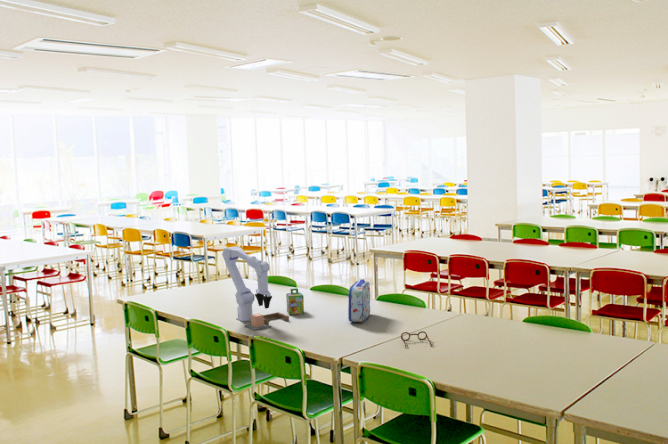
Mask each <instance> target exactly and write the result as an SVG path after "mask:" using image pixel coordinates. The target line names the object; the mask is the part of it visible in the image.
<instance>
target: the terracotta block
mask: <svg viewBox="0 0 668 444" xmlns="http://www.w3.org/2000/svg"><path fill="white" fill-rule="evenodd" d="M263 315H264V314H262V313H254V314H252V315H251V320H250V321H251V324H252V326H254V327H260V326H264V316H263Z"/></svg>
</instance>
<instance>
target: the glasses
mask: <svg viewBox="0 0 668 444" xmlns="http://www.w3.org/2000/svg"><path fill="white" fill-rule="evenodd" d="M422 333H423V334H425V337H423V338H420V334H422ZM404 334H406V335H407V334H408V338H407V339H404V337H403V335H404ZM411 336H417V339H418V340H419V341H425V340H426V339H427V342H429V345H430V348H431V347H432V348H433V346H432V342H431V340H430V338H429V336H428V334H427V332H426V331H419V332H417V333H410V332H408V331H405V332H402V333H401V334H400V339H401V340H402V342H403V343H404V347H405V349H407V345H406V341H409V340H410V339H411Z"/></svg>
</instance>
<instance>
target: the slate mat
mask: <svg viewBox="0 0 668 444" xmlns="http://www.w3.org/2000/svg"><path fill="white" fill-rule="evenodd" d="M244 327H246V328H248V329H250V330H253V331H259V330H264V329H268V328H271V327H272V325H270V324H269V325H266V324H264V326H260V327H254V326H252V323H249V324H245V325H244Z"/></svg>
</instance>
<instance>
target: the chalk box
mask: <svg viewBox="0 0 668 444" xmlns="http://www.w3.org/2000/svg"><path fill="white" fill-rule="evenodd" d="M294 291H295V292H294ZM285 297H286V312H287V314H288V316H291V315H292V316H294V315H304V314H305V307H304V305H305V303H304V295H303V293H302V292H299V289H298V288H297V287H296V288H290V292H288V293H286V296H285Z"/></svg>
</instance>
